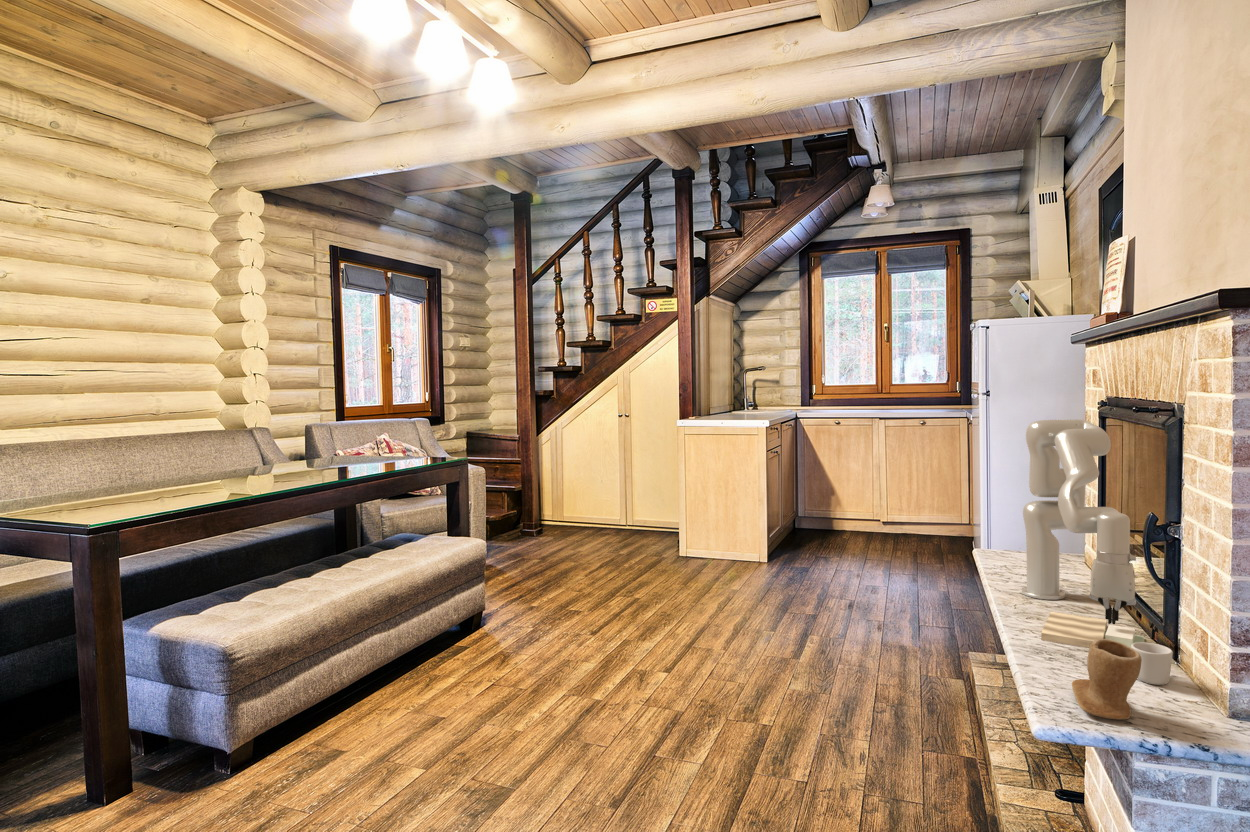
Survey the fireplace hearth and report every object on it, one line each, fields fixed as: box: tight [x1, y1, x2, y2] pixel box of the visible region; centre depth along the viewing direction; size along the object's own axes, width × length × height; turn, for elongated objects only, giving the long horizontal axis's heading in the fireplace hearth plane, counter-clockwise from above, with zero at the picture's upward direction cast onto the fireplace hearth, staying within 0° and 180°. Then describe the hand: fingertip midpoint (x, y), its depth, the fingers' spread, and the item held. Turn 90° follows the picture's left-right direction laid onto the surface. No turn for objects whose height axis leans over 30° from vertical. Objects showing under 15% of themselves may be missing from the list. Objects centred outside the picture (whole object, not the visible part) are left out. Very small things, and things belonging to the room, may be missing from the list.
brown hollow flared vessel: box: [1071, 639, 1142, 721], centre depth 156 cm, size 15×12×15 cm
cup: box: [1131, 641, 1174, 686], centre depth 170 cm, size 11×8×8 cm
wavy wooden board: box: [1040, 611, 1108, 649], centre depth 202 cm, size 22×14×2 cm, turn 143°
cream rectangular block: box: [1104, 624, 1136, 646], centre depth 195 cm, size 10×6×2 cm, turn 141°
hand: (1111, 622), depth 197 cm, fingers closed
